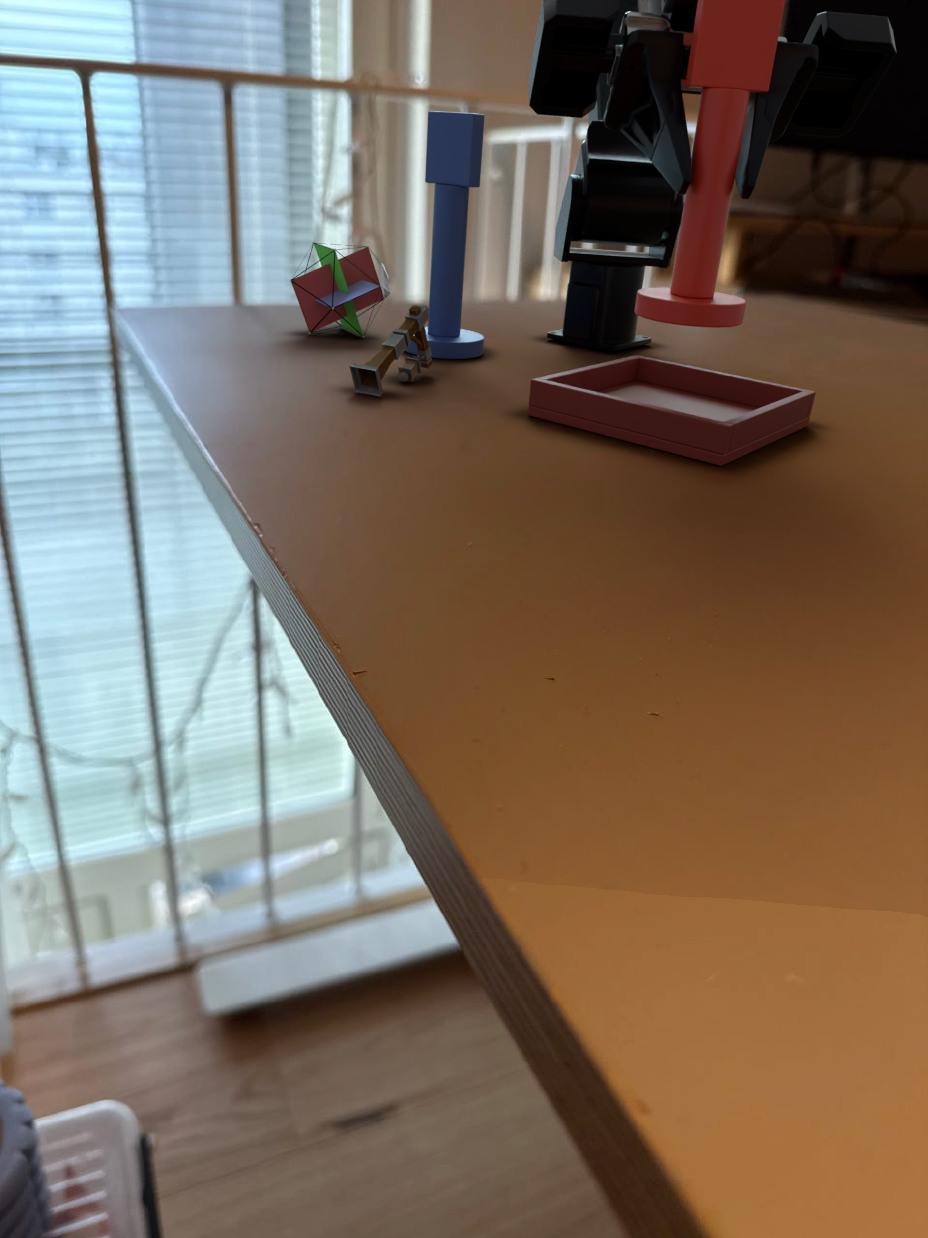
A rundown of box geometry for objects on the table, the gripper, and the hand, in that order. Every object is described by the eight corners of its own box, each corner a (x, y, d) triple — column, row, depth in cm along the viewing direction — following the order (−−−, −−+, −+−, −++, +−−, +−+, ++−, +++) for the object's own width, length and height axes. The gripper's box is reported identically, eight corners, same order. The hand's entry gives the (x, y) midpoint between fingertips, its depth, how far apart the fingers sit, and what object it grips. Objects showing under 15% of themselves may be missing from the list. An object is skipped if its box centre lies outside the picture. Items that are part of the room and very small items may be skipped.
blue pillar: (438, 339, 73) (450, 113, 66) (499, 353, 70) (518, 117, 62) (385, 347, 69) (392, 107, 61) (448, 362, 65) (462, 110, 58)
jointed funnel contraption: (446, 358, 62) (436, 296, 58) (388, 430, 57) (374, 367, 54) (422, 354, 62) (411, 293, 59) (363, 425, 58) (348, 362, 55)
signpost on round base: (624, 305, 55) (668, -12, 48) (724, 311, 55) (782, -2, 48) (647, 323, 49) (700, -30, 42) (757, 330, 50) (827, -19, 43)
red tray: (631, 386, 63) (636, 354, 62) (808, 426, 56) (816, 391, 55) (527, 415, 54) (530, 378, 53) (721, 466, 47) (729, 426, 46)
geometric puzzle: (289, 313, 66) (352, 218, 66) (257, 297, 72) (315, 209, 71) (361, 370, 71) (421, 282, 70) (326, 351, 76) (382, 269, 76)
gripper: (560, -213, 44) (567, 35, 40) (933, -174, 46) (984, 71, 41) (526, 3, 55) (528, 220, 50) (830, 30, 56) (860, 243, 52)
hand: (716, 190), depth 48 cm, fingers closed on signpost on round base, 3 cm apart
